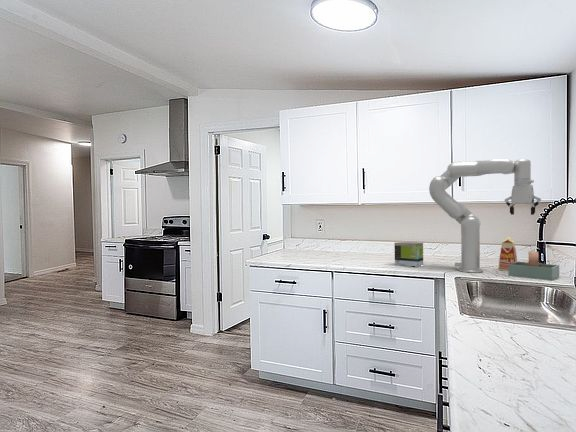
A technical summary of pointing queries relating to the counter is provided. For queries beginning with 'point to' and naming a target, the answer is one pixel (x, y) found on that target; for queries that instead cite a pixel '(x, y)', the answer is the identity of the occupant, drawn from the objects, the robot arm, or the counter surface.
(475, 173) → the robot arm
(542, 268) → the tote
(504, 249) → the milk carton
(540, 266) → the walnut block
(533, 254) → the terracotta jar
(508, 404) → the counter surface
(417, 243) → the tea box
